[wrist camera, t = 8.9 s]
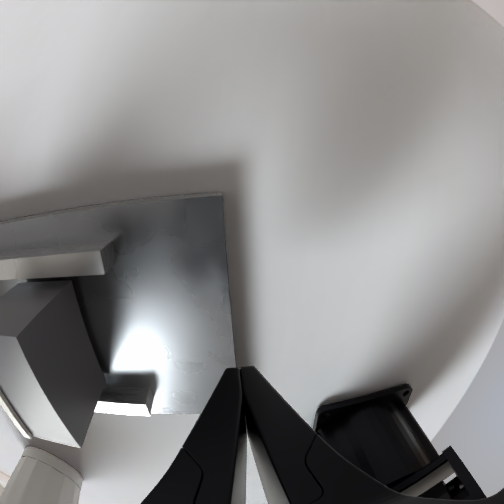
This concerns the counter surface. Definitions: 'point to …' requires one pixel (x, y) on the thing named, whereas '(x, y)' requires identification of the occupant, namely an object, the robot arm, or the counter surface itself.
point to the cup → (42, 480)
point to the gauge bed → (138, 293)
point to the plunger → (47, 363)
